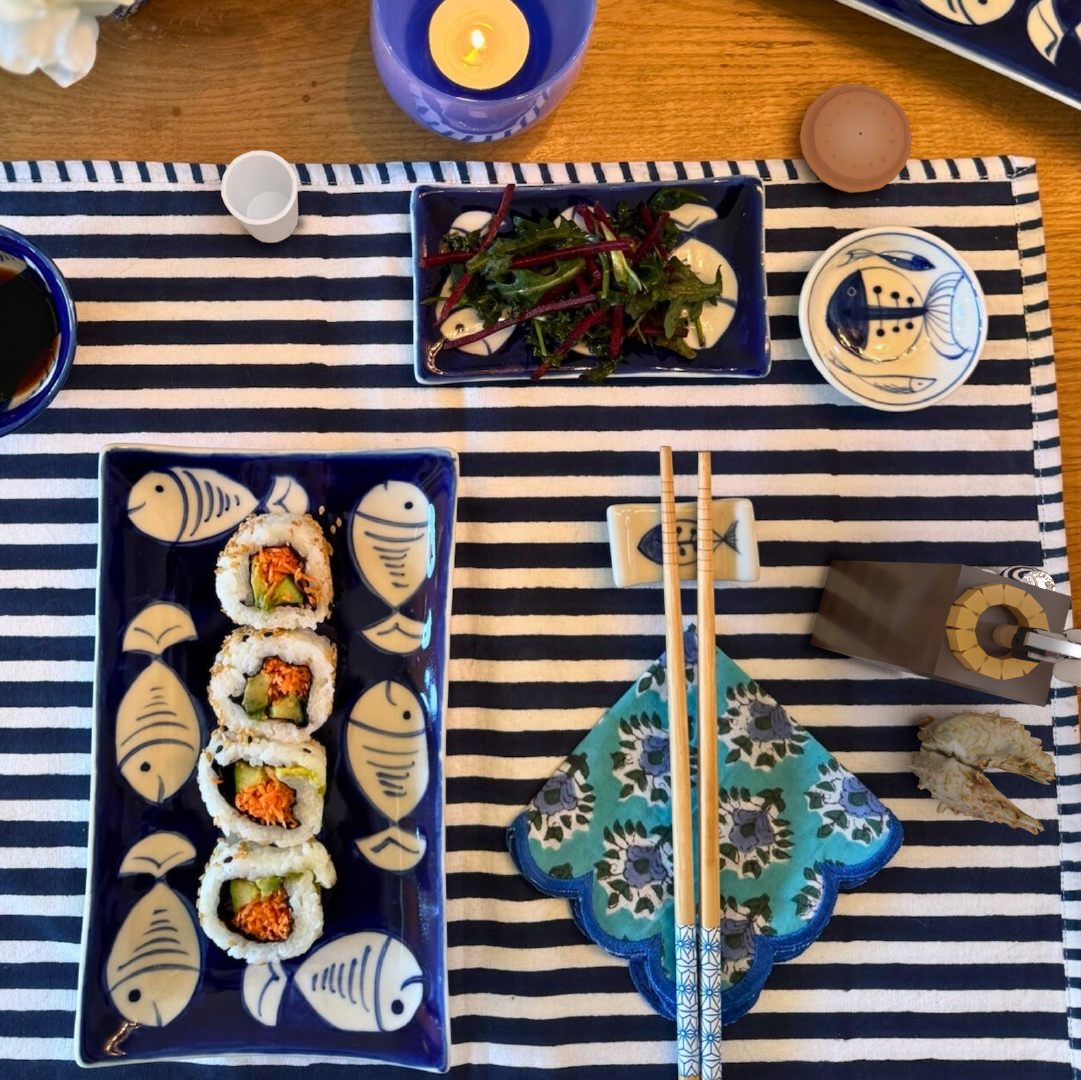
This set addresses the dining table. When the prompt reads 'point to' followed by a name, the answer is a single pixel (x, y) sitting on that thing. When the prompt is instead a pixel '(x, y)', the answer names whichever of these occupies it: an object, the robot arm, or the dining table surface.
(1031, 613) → the ring
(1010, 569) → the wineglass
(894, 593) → the peg stand
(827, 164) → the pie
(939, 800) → the seashell
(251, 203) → the cup
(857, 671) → the dining table surface
